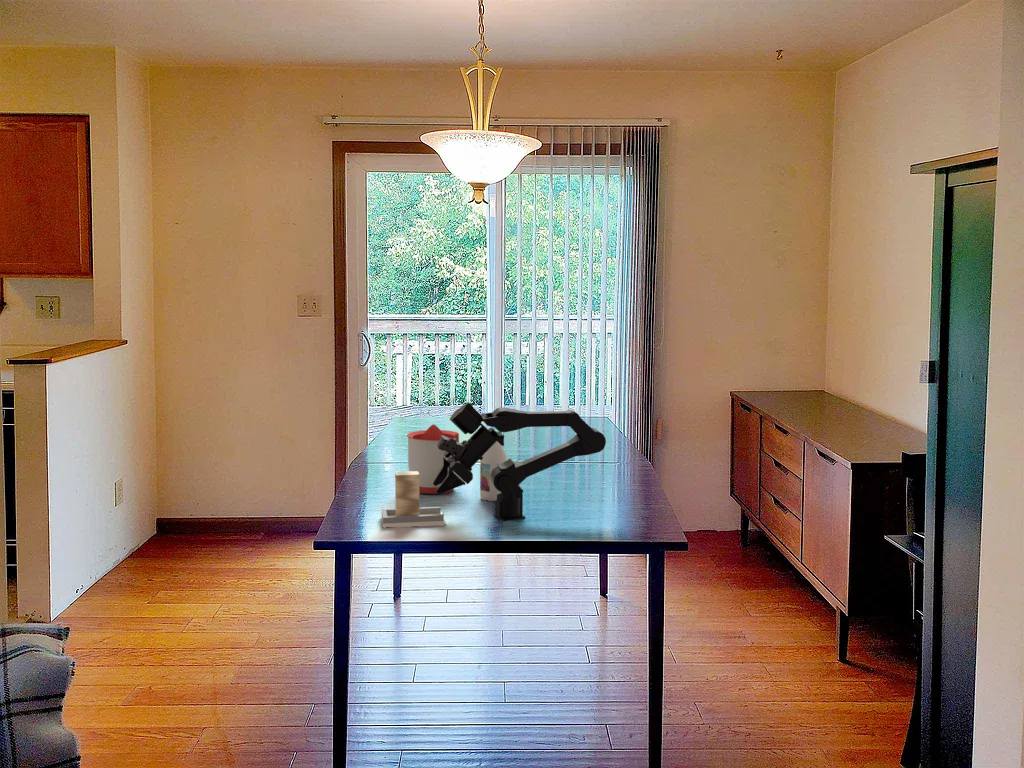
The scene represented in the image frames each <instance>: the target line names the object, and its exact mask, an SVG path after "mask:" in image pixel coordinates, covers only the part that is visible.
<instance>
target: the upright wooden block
mask: <svg viewBox="0 0 1024 768" xmlns="http://www.w3.org/2000/svg"><path fill="white" fill-rule="evenodd" d="M394 488H395V491H394V492H395V493H394V494H395V495H394V497H395V498H394V499H395V501H394V502H395V503H394V504H395V509H396V516H411V515H420V513H419V508H420V493H419V472H418V471H409V470H408V471H395V472H394Z"/></svg>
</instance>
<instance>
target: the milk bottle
mask: <svg viewBox="0 0 1024 768" xmlns="http://www.w3.org/2000/svg"><path fill="white" fill-rule="evenodd" d="M493 429H494V430H495V431H496V432H497V433H498V434H503V432H500V431H498V430H497V429H496V428H493ZM482 457H483V459H482V460H481V461H480V467H479V477H480V481H479V485H480V488H479V492H480V493H479V496H480V499H481V500H483V501H486V500H488V502H495V501H496V500H497V494H500V491H498V490H497V489H496V488H495V486H494V485H493V483H492V481H491V479H490V475H491V472H492V470H493V469H494V468H495V467H497V464H501V463H504V462H505V461H507V460H508V459H507V454H506V450H505V448H504V446H502V445H500V444H499V443H498V442H496V443H495V444H494V445H493V446H492V447H491V448H490V449H489V450H488V451H487V452H486V453H485V454H484V455H483V456H482Z"/></svg>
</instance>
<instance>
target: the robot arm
mask: <svg viewBox="0 0 1024 768" xmlns="http://www.w3.org/2000/svg"><path fill="white" fill-rule="evenodd" d="M449 421H451V423H453V424H454V425H455V427H456V428H457V429H459V430H460V431H461V432H462V433H463V434H464V435H467V434H468V435H471V436H470V437H469V439H468V440H466V439H465V440H462V441H461V442H460V441H459V442H457V441H456V440H454V439H452V438H448V437H445V436H443V435H442V436H441V438H440V440H439V442H438V445H437V447H438V449H440V450H442V451H446V452H445V453H444V456H445V457H446V458H444V457H443V466H442V468H441V470H440V472H439V473H438V475H437V477H436V478H435V480H434V482H433V484H434V485H435V486H437V485H439V484H441V483H442V484H441V485H440V486H439V488H438V489H437V491H436V492H437V493H438V495H442V494H441V493H444V492H446V491H449V490H451V489H453V490H454V489H455V488H459V487H462V486H465V485H469V484H470V483H471V482H472V480H474V476H473V475H474V474H473V472H472V471H473V466H475V464H476V463H478V461H480V462H481V460H482V459H483V457H482V456H483V455H484V454H485V453H486V452H487V451H488V450H489V449H490V448H491V447H492V446H493V445H494V444H495V443H496V442H498V443H499V444H500V445H502V446H503V447H504V445H505V441H504V440H505V435H504V434H503V433H509V432H514V431H519V430H521V429H524V428H533V427H534V428H537V427H538V428H540V427H541V428H543V427H545V428H548V427H570V429H572V431H573V432H574V433H575V435H574V436H573V437H572V438H571V439H570V440H568V441H566V442H565V443H562V444H560V445H557V446H555V447H552V448H551V449H548V450H546V451H544V452H542V453H539V454H537V455H534V456H532V457H529V458H528V459H524V460H523V461H520V462H514V461H513V459H512V458H508V459H507V461H505V462H504V463H501V464H497V467H495V468H494V469H493V470H492V472H491V475H490V479H491V481H492V483H493V485H494V486H495V488H496V489H497V490H498V491H500V494H497V500H496V501H494V502H495V503H494V504H495V505H494V506H495V507H494V508H495V509H494V513H493V516H495V517H496V518H498V519H499V520H502V521H504V522H507V521H508V522H509V521H514V520H522V519H526V515H523V514H524V513H523V512H524V511H523V509H524V508H523V506H524V504H523V503H524V502H523V501H524V499H523V497H524V495H523V493H524V490H523V488H522V487H521V484H522V483H523V482H524V481H525V480H526V479H527V478H528V477H530V476H533V475H536V474H538V473H540V472H543V471H544V470H548V469H549V468H551V467H554V466H557V465H558V464H559V465H560V464H561V463H563V462H565V461H568V460H570V459H573V458H575V457H581V456H589V455H594V454H597V453H600V452H602V451H603V450H604V449H605V447H606V442H607V440H606V437H605V435H604V433H602V432H601V431H600V430H597V429H596V428H593V427H591V426H590V425H589V424H588V423H586V421H584V419H583V418H581V417H580V415H579V413H577V412H576V411H574V410H572V409H568V410H554V411H553V410H548V411H547V410H545V411H540V410H539V411H523V410H518V409H514V408H508V407H497V408H495V409H494V410H493V411H492V412H491V411H490V412H487V413H480V412H478V411H477V410H476V408H475V407H474V406H473V405H472V403H470V401H466V403H465V404H464V405H462V406H460V407H459V408H456V410H455V411H454V412H453V414H452V415H451V416H450V417H449ZM482 422H483V423H484V424H485V425H486V426H487V427H489V428H487V427H486V426H485V425H484V424H483V423H482ZM494 429H497V430H498V431H500V432H502V434H498V433H497V432H496V431H495V430H494Z"/></svg>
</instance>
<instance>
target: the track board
mask: <svg viewBox="0 0 1024 768" xmlns="http://www.w3.org/2000/svg"><path fill="white" fill-rule="evenodd" d="M441 509H442V507H441V506H423V507H420V506H419V513H420V515H411V516H396V508H381V522H382V523H383V524H382V528H383V527H384V528H383V529H387V528H386V527H397V528H412V527H411V526H419V527H435V526H436V527H437V526H441V527H442V526H446V518H445V517H444V514H443V512H442V510H441Z"/></svg>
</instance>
